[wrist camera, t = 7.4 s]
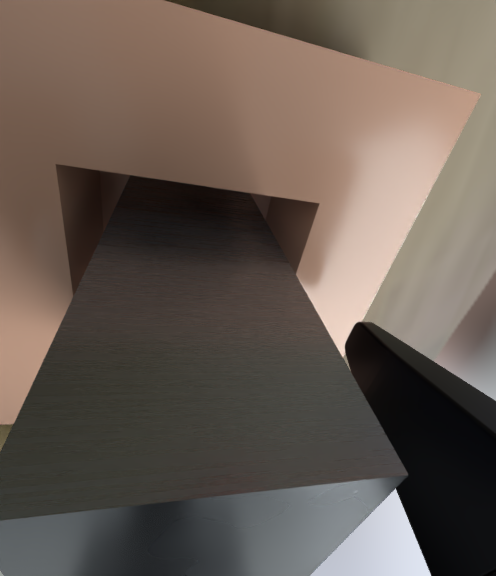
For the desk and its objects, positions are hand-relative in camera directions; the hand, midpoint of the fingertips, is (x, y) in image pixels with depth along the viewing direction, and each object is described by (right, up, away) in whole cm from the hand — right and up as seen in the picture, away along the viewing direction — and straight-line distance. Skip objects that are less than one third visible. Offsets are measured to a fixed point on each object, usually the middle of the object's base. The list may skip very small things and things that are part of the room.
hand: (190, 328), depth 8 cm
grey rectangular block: (-1, +3, +4) cm, 6 cm away
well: (-1, +4, +5) cm, 6 cm away
